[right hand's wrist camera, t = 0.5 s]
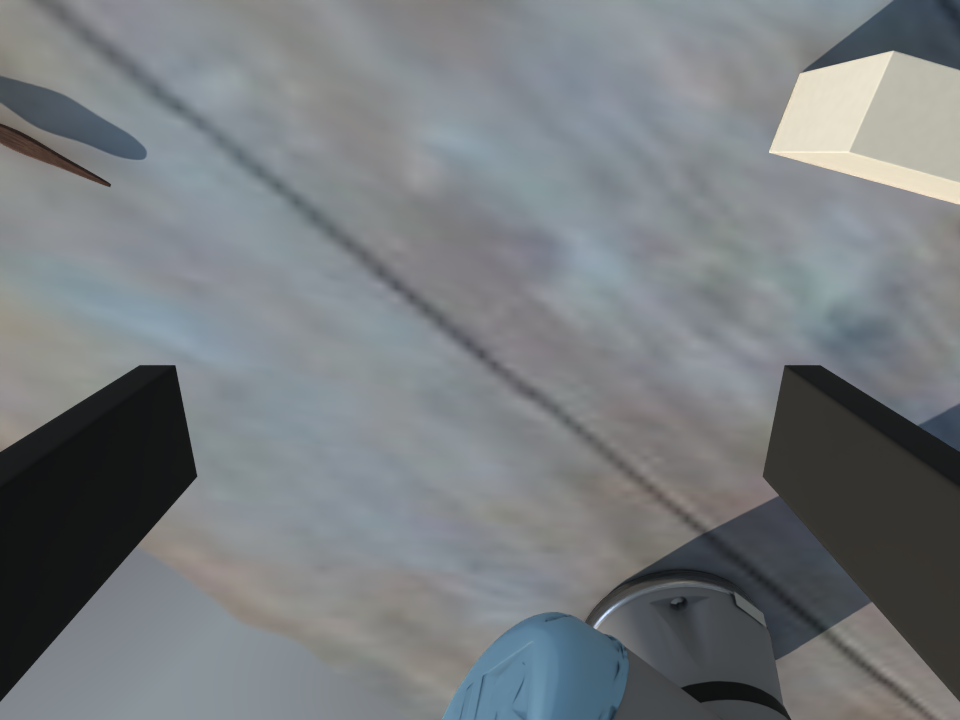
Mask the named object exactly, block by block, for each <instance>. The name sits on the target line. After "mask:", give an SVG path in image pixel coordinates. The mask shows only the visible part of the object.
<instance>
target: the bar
mask: <svg viewBox="0 0 960 720" xmlns="http://www.w3.org/2000/svg"><path fill="white" fill-rule="evenodd" d="M769 152H770V153H773V154H777V155H780V156H784V157H788V158H791V159H795V160H799V161H802V162H806V163H810V164H813V165H817V166H821V167H824V168H828V169H832V170H835V171H839V172H842V173H846V174H850V175H853V176H857V177H861V178H864V179H868V180H872V181H875V182H879V183H883V184H886V185H890V186H894V187H897V188H901V189H904V190H908V191H912V192H915V193H919V194H923V195H926V196H930V197H934V198H937V199H941V200H945V201H948V202H952V203H956V204H959V205H960V70H958V69H955V68H952V67H948V66H945V65H942V64H938V63H935V62H931V61H928V60H925V59H921V58H918V57H914V56H911V55H908V54H904V53H901V52H898V51H894V50H893V51H889V52H885V53H881V54H877V55H872V56H868V57H864V58H860V59H856V60H852V61H848V62H844V63H840V64H836V65H831V66H827V67H823V68H819V69H815V70H811V71H807V72H803V73H800V75H799V77H798V80H797V83H796V85H795V88H794V90H793V93H792V95H791V98H790V100H789V103H788V105H787V108H786V110H785V113H784V115H783V118H782V120H781V123H780V125H779V128H778V130H777V133H776V135H775V138H774V140H773V143H772V145H771V148H770V150H769Z"/></svg>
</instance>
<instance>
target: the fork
mask: <svg viewBox="0 0 960 720" xmlns="http://www.w3.org/2000/svg"><path fill="white" fill-rule="evenodd" d="M0 143H1V144H3V145H5V146H7V147H8V148H10V149H13V150H15V151H17V152H19V153H22V154H24V155H27V156H30V157H32V158H35V159H38V160H40V161H43V162H46V163H48V164H51V165H54V166H57V167H59V168H62V169H64V170H67V171H69V172H72V173H74V174H77V175H79V176H82V177H84V178H87V179H90V180H92V181H95V182H97V183H100V184H103V185H105V186H108V187H110V186H111V184H110V183H108V182H107V181H105V180H103V179H102V178H100V177H98V176H97V175H95V174H93V173H91V172H90V171H88V170H86V169H84V168H82V167H81V166H79V165H77V164H75V163H74V162H72V161H70V160H68V159H67V158H65V157H63V156H61V155H60V154H58V153H56V152H55V151H53V150H51V149H50V148H48V147H46V146H45V145H43V144H41V143H40V142H38V141H36V140H35V139H33V138H31V137H29V136H27V135H26V134H24V133H22V132H19V131H17V130H15V129H13V128H10V127H8V126H5V125H3V124H0Z"/></svg>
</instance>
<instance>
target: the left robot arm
mask: <svg viewBox="0 0 960 720" xmlns="http://www.w3.org/2000/svg"><path fill="white" fill-rule="evenodd" d="M442 720H791V718H790V717H789V715H788V713H787V711H786V709H785V707H784V705H783V701H782V695H781V690H780V684H779V679H778V673H777V668H776V663H775V658H774V653H773V647H772V641H771V636H770V632H769V630H768V627H767V625H766V623H765V619H764V615H763V613H762V612H761V611H759V610H758V609H757V608H756V607H755V605H754V604H753V602H752V601H751V599H750V598H749V597H748V596H747V595H746V594H745V593H744V592H743V591H742V590H741V589H739V588H738V587H737V586H735V585H734V584H732V583H731V582H729V581H727V580H725V579H723V578H720V577H717V576H715V575H711V574H708V573H703V572H698V571H688V570H676V571H665V572H658V573H654V574H649V575H646V576H643V577H640V578H637V579H635V580H632V581H630V582H628V583H626V584H624V585H622V586H620V587H619V588H617V589H615V590H614V591H613V592H611V593H610V594H608V595H607V596H606V597H605V598H604V599H603V600H602V601H601V602H600V603H599V604H598V605H597V606H596V607H595V608H594V609H593V611H592V612H591V613H590V615H589V616H588V618H587V620H586V622H583V621H582V620H580V619H578V618H576V617H574V616H572V615H567V614H563V613H558V612H550V613H543V614H539V615H536V616H533V617H530V618H528V619H525V620H523V621H522V622H520V623H518V624H517V625H515V626H514V627H512V628H511V629H509V630H508V631H507V632H505V633H504V634H503V635H502V636H500V637H499V638H498V639H497V640H496V641H495V642H494V643H493V644H492V645H491V646H490V647H489V648H488V649H487V650H486V651H485V652H484V654H483V655H482V656H481V657H480V658H479V659H478V661H477V662H476V663H475V665H474V666H473V667H472V669H471V670H470V671H469V673H468V674H467V676H466V678H465V680H464V681H463V682H462V683H461V685H460V686H459V688H458V690H457V691H456V693H455V695H454V697H453V698H452V700H451V702H450V704H449V706H448V708H447V710H446V712H445V714H444V716H443V718H442Z"/></svg>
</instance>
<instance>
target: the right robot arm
mask: <svg viewBox="0 0 960 720" xmlns="http://www.w3.org/2000/svg"><path fill="white" fill-rule="evenodd" d="M196 477H197V473H196V468H195V463H194V458H193V452H192V447H191V442H190V437H189V432H188V427H187V422H186V417H185V412H184V407H183V402H182V397H181V392H180V387H179V382H178V377H177V371H176V366H175V365H139V366H138V367H136V368H135V369H133V370H131V371H130V372H128V373H127V374H125V375H123V376H122V377H120V378H119V379H117V380H115V381H114V382H112V383H111V384H109V385H107V386H106V387H104V388H103V389H101V390H99V391H98V392H96V393H95V394H93V395H91V396H90V397H88V398H87V399H85V400H83V401H82V402H80V403H79V404H77V405H75V406H74V407H72V408H70V409H69V410H67V411H66V412H64V413H62V414H61V415H59V416H58V417H56V418H54V419H53V420H51V421H50V422H48V423H46V424H45V425H43V426H42V427H40V428H38V429H37V430H35V431H34V432H32V433H30V434H29V435H27V436H26V437H24V438H22V439H21V440H19V441H18V442H16V443H14V444H13V445H11V446H9V447H8V448H6V449H5V450H3V451H1V452H0V701H1V700H2V699H3V698H4V697H5V696H6V695H7V693H8V692H9V691H10V690H11V689H12V688H13V687H14V685H15V684H16V683H17V682H18V681H19V680H20V678H21V677H22V676H23V675H24V674H25V673H26V672H27V671H28V669H29V668H30V667H31V666H32V665H33V664H34V663H35V661H36V660H37V659H38V658H39V657H40V656H41V655H42V653H43V652H44V651H45V650H46V649H47V648H48V647H49V645H50V644H51V643H52V642H53V641H54V640H55V639H56V637H57V636H58V635H59V634H60V633H61V632H62V631H63V629H64V628H65V627H66V626H67V625H68V624H69V623H70V621H71V620H72V619H73V618H74V617H75V616H76V614H77V613H78V612H79V611H80V610H81V609H82V608H83V606H84V605H85V604H86V603H87V602H88V601H89V600H90V598H91V597H92V596H93V595H94V594H95V593H96V592H97V591H98V589H99V588H100V587H101V586H102V585H103V584H104V582H105V581H106V580H107V579H108V578H109V577H110V576H111V574H112V573H113V572H114V571H115V570H116V569H117V568H118V567H119V565H120V564H121V563H122V562H123V561H124V560H125V558H126V557H127V556H128V555H129V554H130V553H131V552H132V550H133V549H134V548H135V547H136V546H137V545H138V544H139V543H140V541H141V540H142V539H143V538H144V537H145V536H146V535H147V533H148V532H149V531H150V530H151V529H152V528H153V527H154V525H155V524H156V523H157V522H158V521H159V520H160V519H161V517H162V516H163V515H164V514H165V513H166V512H167V511H168V509H169V508H170V507H171V506H172V505H173V504H174V503H175V501H176V500H177V499H178V498H179V497H180V496H181V495H182V493H183V492H184V491H185V490H186V489H187V488H188V487H189V485H190V484H191V483H192V482H193V481H194V480H195V479H196ZM763 477H764V479H765V480H766V481H767V482H768V483H769V484H770V485H771V487H772V488H773V489H774V490H775V491H776V492H777V493H778V495H779V496H780V497H781V498H782V499H783V500H784V501H785V503H786V504H787V505H788V506H789V507H790V508H791V509H792V511H793V512H794V513H795V514H796V515H797V516H798V517H799V519H800V520H801V521H802V522H803V523H804V524H805V525H806V527H807V528H808V529H809V530H810V531H811V532H812V533H813V535H814V536H815V537H816V538H817V539H818V540H819V541H820V543H821V544H822V545H823V546H824V547H825V548H826V549H827V551H828V552H829V553H830V554H831V555H832V556H833V557H834V559H835V560H836V561H837V562H838V563H839V564H840V565H841V567H842V568H843V569H844V570H845V571H846V572H847V573H848V575H849V576H850V577H851V578H852V579H853V580H854V581H855V583H856V584H857V585H858V586H859V587H860V588H861V589H862V591H863V592H864V593H865V594H866V595H867V596H868V597H869V599H870V600H871V601H872V602H873V603H874V604H875V605H876V607H877V608H878V609H879V610H880V611H881V612H882V613H883V615H884V616H885V617H886V618H887V619H888V620H889V621H890V623H891V624H892V625H893V626H894V627H895V628H896V629H897V631H898V632H899V633H900V634H901V635H902V636H903V637H904V639H905V640H906V641H907V642H908V643H909V644H910V645H911V647H912V648H913V649H914V650H915V651H916V652H917V653H918V655H919V656H920V657H921V658H922V659H923V660H924V661H925V663H926V664H927V665H928V666H929V667H930V668H931V669H932V671H933V672H934V673H935V674H936V675H937V676H938V677H939V679H940V680H941V681H942V682H943V683H944V684H945V685H946V687H947V688H948V689H949V690H950V691H951V692H952V693H953V695H954V696H955V697H956V698H957V699H958V700H959V701H960V452H959V451H957V450H955V449H954V448H952V447H951V446H949V445H947V444H946V443H944V442H942V441H941V440H939V439H938V438H936V437H934V436H933V435H931V434H930V433H928V432H926V431H925V430H923V429H922V428H920V427H918V426H917V425H915V424H914V423H912V422H910V421H909V420H907V419H906V418H904V417H902V416H901V415H899V414H898V413H896V412H894V411H893V410H891V409H890V408H888V407H886V406H885V405H883V404H881V403H880V402H878V401H877V400H875V399H873V398H872V397H870V396H869V395H867V394H865V393H864V392H862V391H861V390H859V389H857V388H856V387H854V386H853V385H851V384H849V383H848V382H846V381H845V380H843V379H841V378H840V377H838V376H837V375H835V374H833V373H832V372H830V371H829V370H827V369H825V368H824V367H822V366H821V365H785V366H784V371H783V377H782V382H781V387H780V392H779V397H778V402H777V407H776V412H775V417H774V422H773V427H772V432H771V437H770V442H769V447H768V452H767V458H766V463H765V468H764V473H763Z"/></svg>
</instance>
